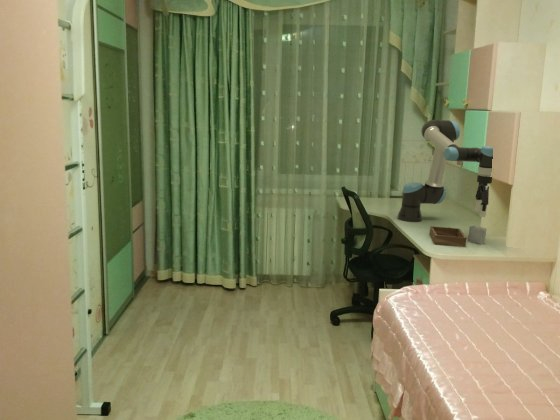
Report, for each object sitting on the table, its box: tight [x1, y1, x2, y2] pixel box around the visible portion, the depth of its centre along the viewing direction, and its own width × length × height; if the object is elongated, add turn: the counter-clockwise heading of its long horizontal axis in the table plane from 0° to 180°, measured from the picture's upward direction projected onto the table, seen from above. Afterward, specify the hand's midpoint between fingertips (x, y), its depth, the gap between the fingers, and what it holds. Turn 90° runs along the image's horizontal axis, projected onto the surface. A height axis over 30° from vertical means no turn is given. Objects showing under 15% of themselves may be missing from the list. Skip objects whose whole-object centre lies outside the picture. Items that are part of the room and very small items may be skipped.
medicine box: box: [467, 225, 487, 245], centre depth 291 cm, size 8×4×9 cm, turn 37°
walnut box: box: [429, 226, 468, 248], centre depth 292 cm, size 22×16×5 cm
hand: (479, 214), depth 289 cm, fingers open, 13 cm apart
